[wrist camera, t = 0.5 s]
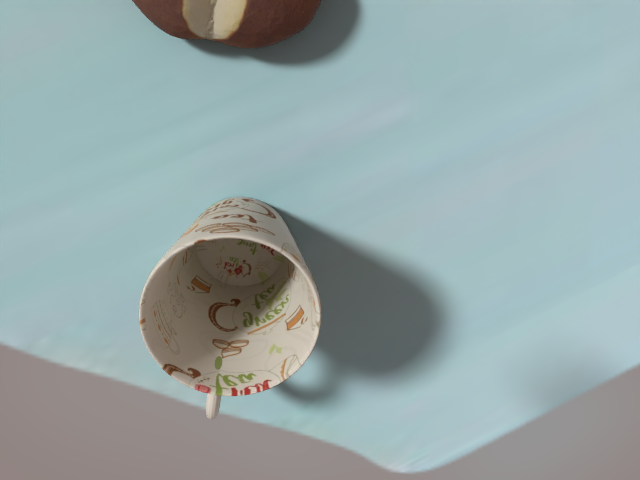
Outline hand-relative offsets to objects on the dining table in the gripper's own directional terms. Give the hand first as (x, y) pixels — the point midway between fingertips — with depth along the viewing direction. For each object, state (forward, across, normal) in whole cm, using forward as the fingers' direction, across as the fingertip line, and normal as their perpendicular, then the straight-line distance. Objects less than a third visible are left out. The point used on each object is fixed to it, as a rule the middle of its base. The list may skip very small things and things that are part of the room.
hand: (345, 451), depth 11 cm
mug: (+26, -4, -8) cm, 27 cm away
